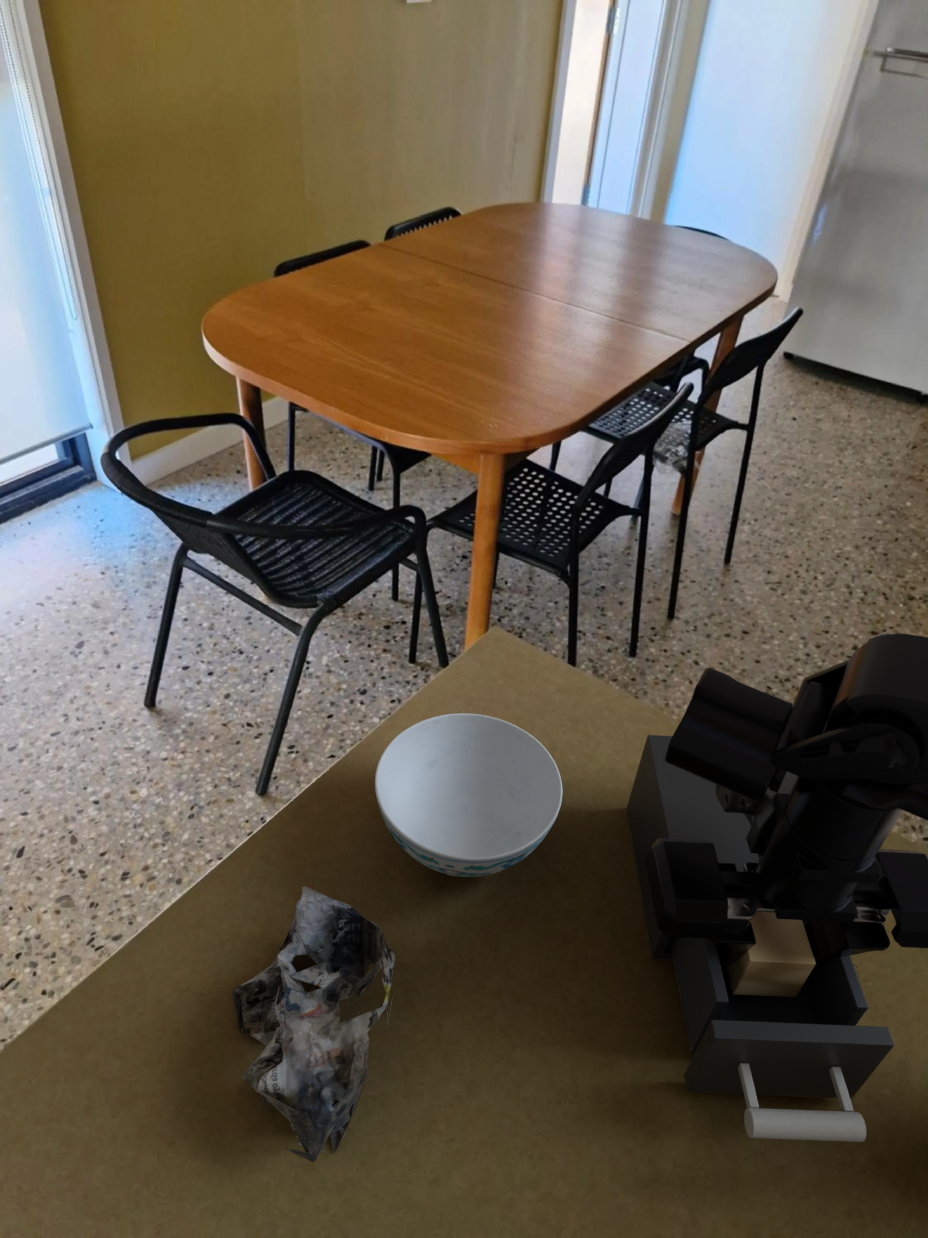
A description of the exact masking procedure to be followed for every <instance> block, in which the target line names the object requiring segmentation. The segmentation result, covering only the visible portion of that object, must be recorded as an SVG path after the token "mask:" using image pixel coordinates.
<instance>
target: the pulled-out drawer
mask: <svg viewBox="0 0 928 1238" xmlns="http://www.w3.org/2000/svg"><path fill="white" fill-rule="evenodd" d="M802 921H803V924H804V922H805V920H802ZM670 944H671V949H672V955H673V960H672V961H673V964H674V970H675V971H674V972H675V975H676V980H677V985H678V991H679V996H680V1002H681V1007H682V1012H683V1018H684V1024H685V1029H686V1034H687V1040H688V1045H689V1049H690V1053H691V1054H693V1055H692V1057H691V1058H690V1059H691V1060H690V1062H689V1063H688V1064H687V1068H686V1069H685V1070H684V1071H685V1072H684V1073H683V1079H684V1084H685V1090H686V1092H687V1093H695V1094H697V1093H699V1094H719V1095H720V1094H723V1095H724V1094H725V1095H744V1100H745V1104H746V1108H745V1110H744V1116H743V1119H744V1122H743V1123H744V1128H745V1131H746V1134H747V1136H748V1137H749V1138H750V1139H772V1140H774V1139H775V1140H797V1141H798V1140H799V1141H802V1140H803V1141H827V1142H851V1143H852V1142H855V1143H864V1142H865V1141H866V1138H867V1125H866V1122H865V1118H864V1117H863V1115H862V1114H861V1113H860V1112H858V1111H854V1107H853V1103H852V1100H851V1099H853V1098H854V1096H856V1094H857V1093H858V1091H859V1090H860V1089H861V1088H862V1087H863V1086H864V1084H865V1083H866V1082H867V1081H868V1079H869V1078H870V1077H871V1075H872V1074H873V1073H874V1072H875V1070H876V1069H877V1068H878V1067H879V1065H880V1064H881V1063H882V1062H883V1060H884V1059H885V1058H886V1057H887V1056H888V1054H889V1053H890V1051H891V1050H892V1049H893V1048H894V1047H895V1043H894V1040H893V1038H892V1034H891V1032H890V1029H889V1026H875V1025H874V1026H871V1025H857V1024H858V1022H859V1021H860V1020H861V1019H862V1017H863V1016H864V1015H865V1013H866V1012H867V1010H868V1009H869V1005H868V1002H867V999H866V997H865V993H864V990H863V988H862V986H861V985H862V984H861V983H860V980H859V977H858V974H857V971H856V969H855V966H854V963H853V959H852V957H851V955H850V956H845V957H840V958H836V959H831V960H827V961H823V962H819V963H816V964H815V966H814V968H813V969H812V971H811V973H810V974H809V976H808V978H807V979H806V981H805V983H804V984H803V986H802V988H801V989H800V991H799V992H798V994H797V996H796V997H783V996H760V995H737V994H733V992H732V988H731V984H730V979H729V975H728V971H727V967H726V962H725V958H724V954H723V950H722V945H721V944H718V943H714V942H713V941H711V940H710V938H687V937H670ZM757 1096H775V1097H801V1098H824V1099H827V1098H828V1099H837V1102H838V1105H839V1108H840V1111H839V1110H838V1111H837V1110H813V1109H790V1108H789V1109H788V1108H787V1109H786V1108H784V1109H783V1108H763V1107H762V1108H761V1107H760V1106H759V1100H758V1097H757Z"/></svg>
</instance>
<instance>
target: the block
mask: <svg viewBox="0 0 928 1238" xmlns="http://www.w3.org/2000/svg"><path fill="white" fill-rule="evenodd" d="M751 924H752V928H753V932H754V935H755V939H756V944H755V945H754V946H753V947H752V948H751V949H750V950H749V951H747V952H746V953H745V954H744V955H743V956H742V957H741V958H740V959H739V960H738V961H736V962H734V963H732V964H726V967H727V971H728V975H729V979H730V984H731V988H732V992H733V994H737V995H760V996H783V997H796V996H797V994H798V992H799V991H800V989H801V988H802V986H803V984H804V983H805V981H806V979H807V978H808V976H809V974H810V973H811V971H812V969H813V968H814V966H815V964H816V962H815V959H814V956H813V953H812V950H811V946H810V943H809V940H808V937H807V934H806V931H805V928H804V925H803V921H802V920H790V919H777V918H776V914H775V913H774V912H756V914H755V916H754V918H753V919H751ZM721 945H722V944H721ZM722 950H723V949H722Z"/></svg>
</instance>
